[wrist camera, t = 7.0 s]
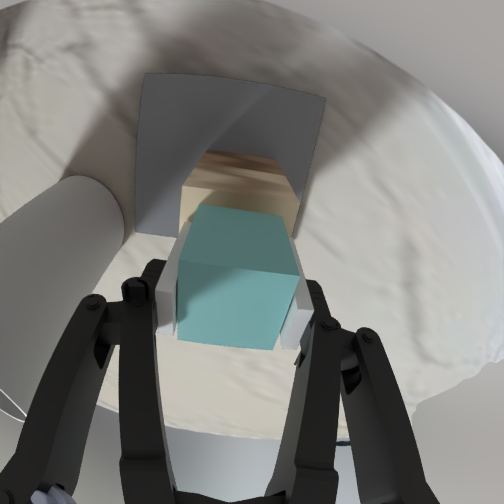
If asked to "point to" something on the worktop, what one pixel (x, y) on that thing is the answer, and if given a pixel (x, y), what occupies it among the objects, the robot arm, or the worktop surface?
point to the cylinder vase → (49, 277)
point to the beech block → (238, 192)
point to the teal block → (235, 278)
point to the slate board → (214, 136)
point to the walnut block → (241, 161)
